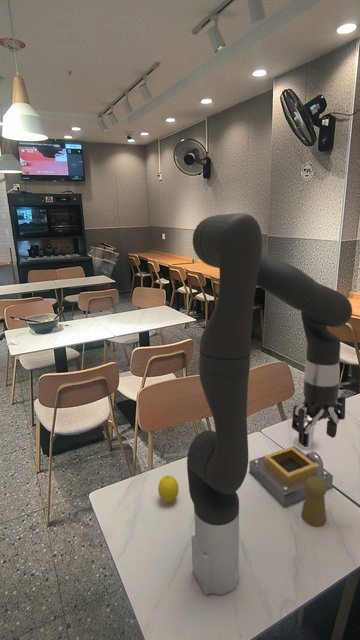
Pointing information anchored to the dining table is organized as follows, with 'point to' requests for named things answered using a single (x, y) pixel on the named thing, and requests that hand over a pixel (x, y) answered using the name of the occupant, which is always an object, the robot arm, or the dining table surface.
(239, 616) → the dining table surface
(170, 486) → the lemon
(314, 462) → the square socket fixture
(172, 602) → the dining table surface
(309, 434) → the smoothie
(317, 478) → the olive pestle shaped cylinder
